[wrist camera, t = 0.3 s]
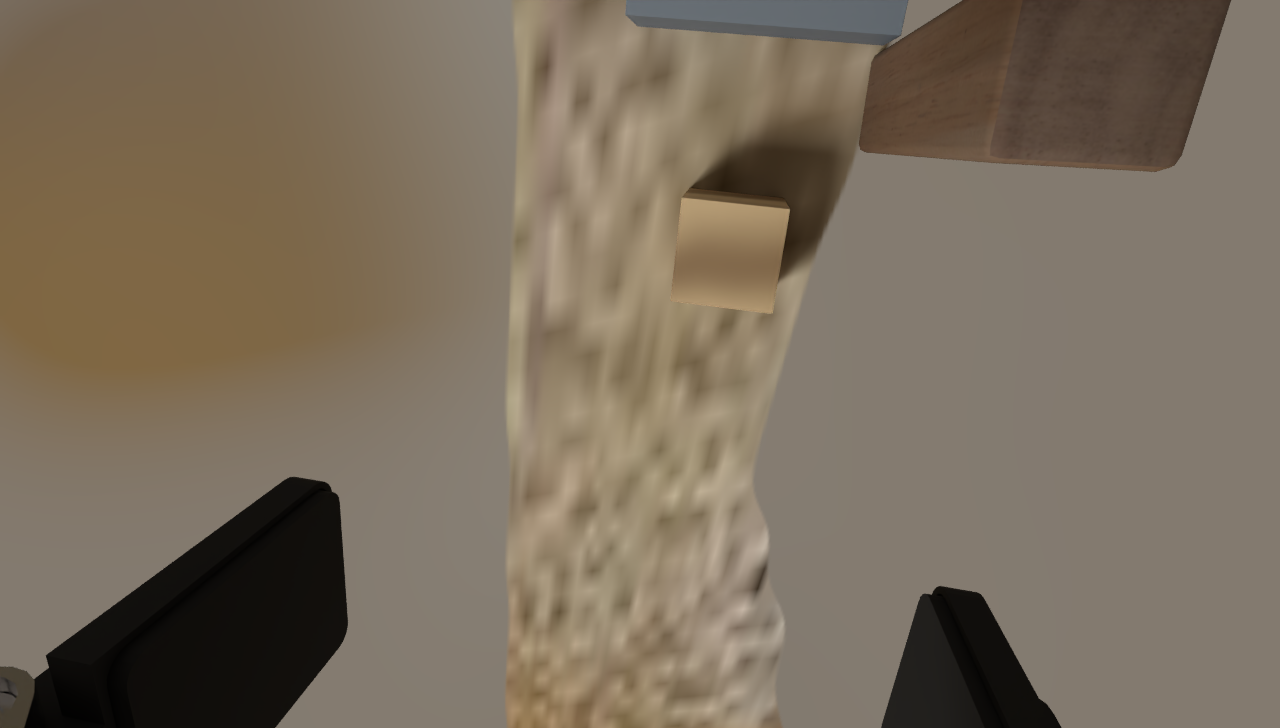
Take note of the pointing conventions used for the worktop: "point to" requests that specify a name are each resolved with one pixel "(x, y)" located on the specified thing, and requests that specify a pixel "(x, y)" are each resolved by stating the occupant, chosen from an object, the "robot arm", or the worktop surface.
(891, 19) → the slate base block
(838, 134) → the worktop surface
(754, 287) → the oak cube
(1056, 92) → the wooden block
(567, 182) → the worktop surface
